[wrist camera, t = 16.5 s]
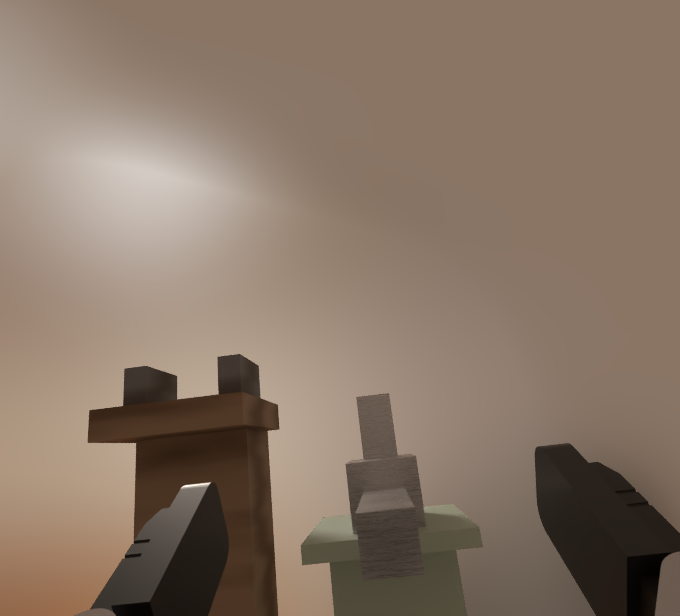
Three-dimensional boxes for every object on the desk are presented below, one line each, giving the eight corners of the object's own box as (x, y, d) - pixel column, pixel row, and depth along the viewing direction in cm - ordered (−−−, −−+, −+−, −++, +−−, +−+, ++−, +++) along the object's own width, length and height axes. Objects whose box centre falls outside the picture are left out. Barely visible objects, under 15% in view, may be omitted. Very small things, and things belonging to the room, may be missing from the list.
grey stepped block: (450, 572, 17) (415, 356, 20) (336, 583, 17) (317, 369, 20) (418, 511, 32) (401, 394, 35) (358, 518, 33) (345, 401, 35)
